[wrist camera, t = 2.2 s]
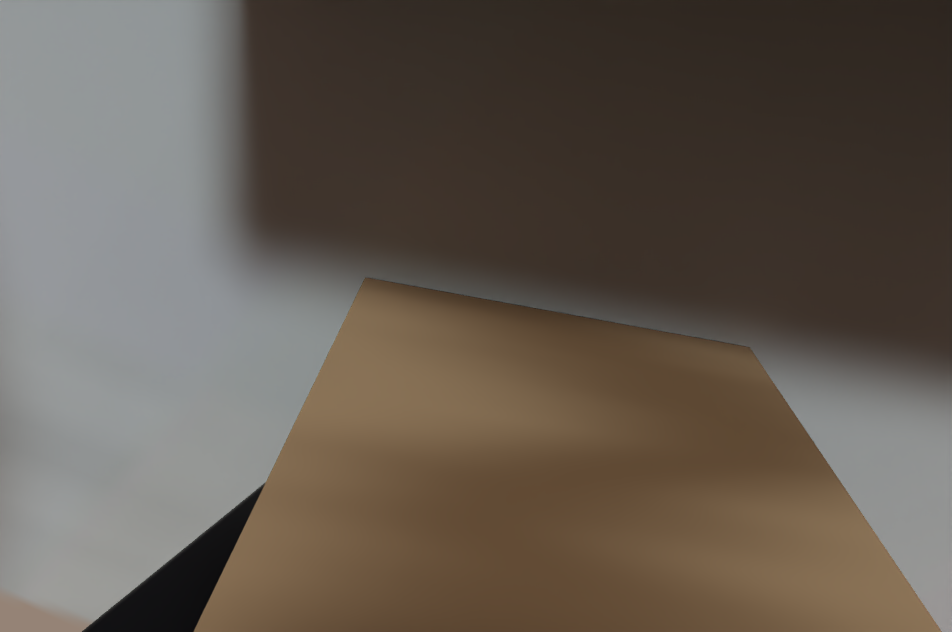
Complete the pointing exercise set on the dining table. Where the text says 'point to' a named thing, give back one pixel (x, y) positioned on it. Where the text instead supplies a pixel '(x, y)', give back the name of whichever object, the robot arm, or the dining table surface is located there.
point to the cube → (549, 488)
